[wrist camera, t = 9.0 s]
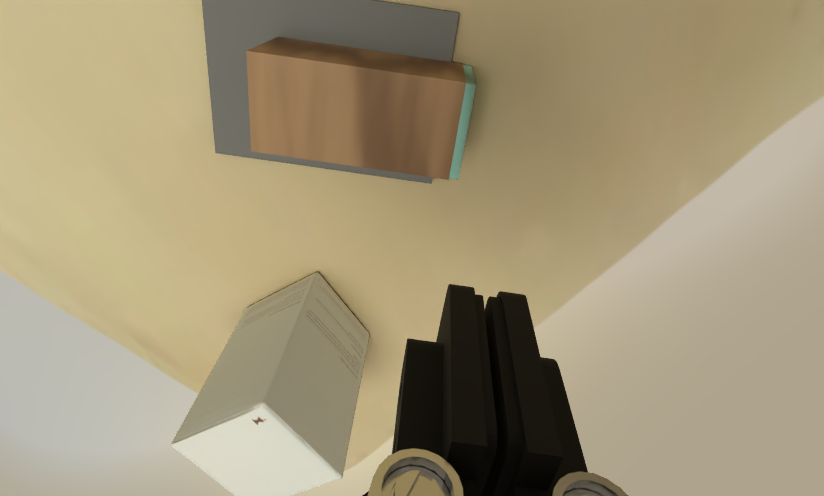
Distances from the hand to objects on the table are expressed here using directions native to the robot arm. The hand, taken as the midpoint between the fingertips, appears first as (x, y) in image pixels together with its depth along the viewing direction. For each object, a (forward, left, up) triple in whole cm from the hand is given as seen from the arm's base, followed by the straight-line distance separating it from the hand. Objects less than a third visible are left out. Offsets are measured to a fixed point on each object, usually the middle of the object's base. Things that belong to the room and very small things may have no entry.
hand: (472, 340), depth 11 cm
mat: (+6, -5, -21) cm, 22 cm away
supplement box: (+19, +7, -21) cm, 29 cm away
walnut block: (0, 0, -18) cm, 18 cm away
